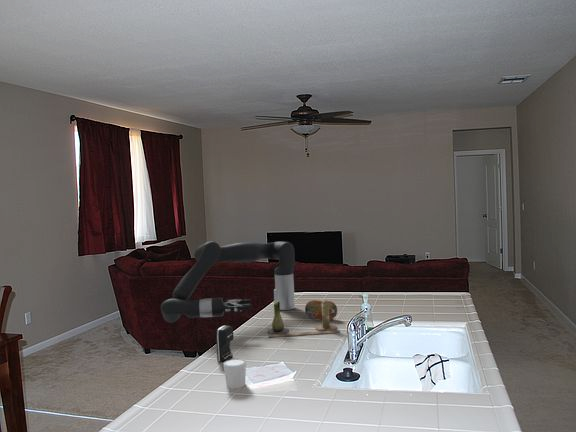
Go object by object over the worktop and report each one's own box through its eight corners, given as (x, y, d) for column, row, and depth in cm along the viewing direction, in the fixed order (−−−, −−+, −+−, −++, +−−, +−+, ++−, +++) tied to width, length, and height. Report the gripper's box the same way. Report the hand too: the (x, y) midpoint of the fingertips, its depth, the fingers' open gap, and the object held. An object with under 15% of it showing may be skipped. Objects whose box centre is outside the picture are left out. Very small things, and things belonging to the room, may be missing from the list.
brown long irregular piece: (268, 337, 205) (267, 308, 204) (267, 329, 217) (265, 301, 217) (340, 333, 207) (339, 303, 207) (334, 325, 220) (333, 297, 219)
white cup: (238, 390, 151) (236, 367, 151) (219, 387, 155) (218, 364, 154) (251, 383, 157) (250, 360, 157) (234, 379, 161) (232, 357, 160)
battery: (226, 362, 177) (224, 330, 176) (216, 362, 178) (215, 329, 178) (235, 356, 183) (234, 324, 183) (226, 355, 185) (224, 324, 184)
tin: (305, 318, 234) (304, 300, 233) (308, 317, 237) (307, 298, 236) (335, 321, 227) (335, 302, 226) (338, 319, 230) (337, 300, 229)
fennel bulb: (278, 328, 217) (277, 299, 216) (287, 329, 214) (286, 301, 213) (269, 331, 212) (267, 302, 212) (278, 333, 209) (276, 304, 209)
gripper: (209, 302, 203) (250, 299, 205) (211, 294, 217) (250, 292, 219) (211, 321, 204) (252, 317, 205) (212, 312, 218) (251, 309, 219)
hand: (251, 304), depth 212 cm, fingers open, 8 cm apart
